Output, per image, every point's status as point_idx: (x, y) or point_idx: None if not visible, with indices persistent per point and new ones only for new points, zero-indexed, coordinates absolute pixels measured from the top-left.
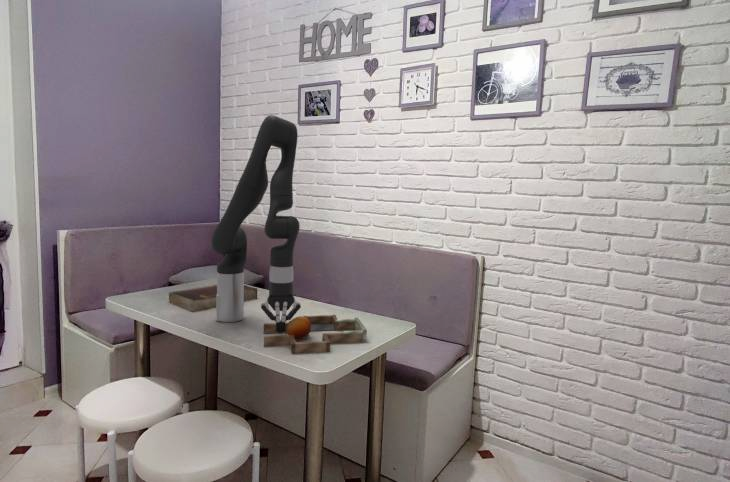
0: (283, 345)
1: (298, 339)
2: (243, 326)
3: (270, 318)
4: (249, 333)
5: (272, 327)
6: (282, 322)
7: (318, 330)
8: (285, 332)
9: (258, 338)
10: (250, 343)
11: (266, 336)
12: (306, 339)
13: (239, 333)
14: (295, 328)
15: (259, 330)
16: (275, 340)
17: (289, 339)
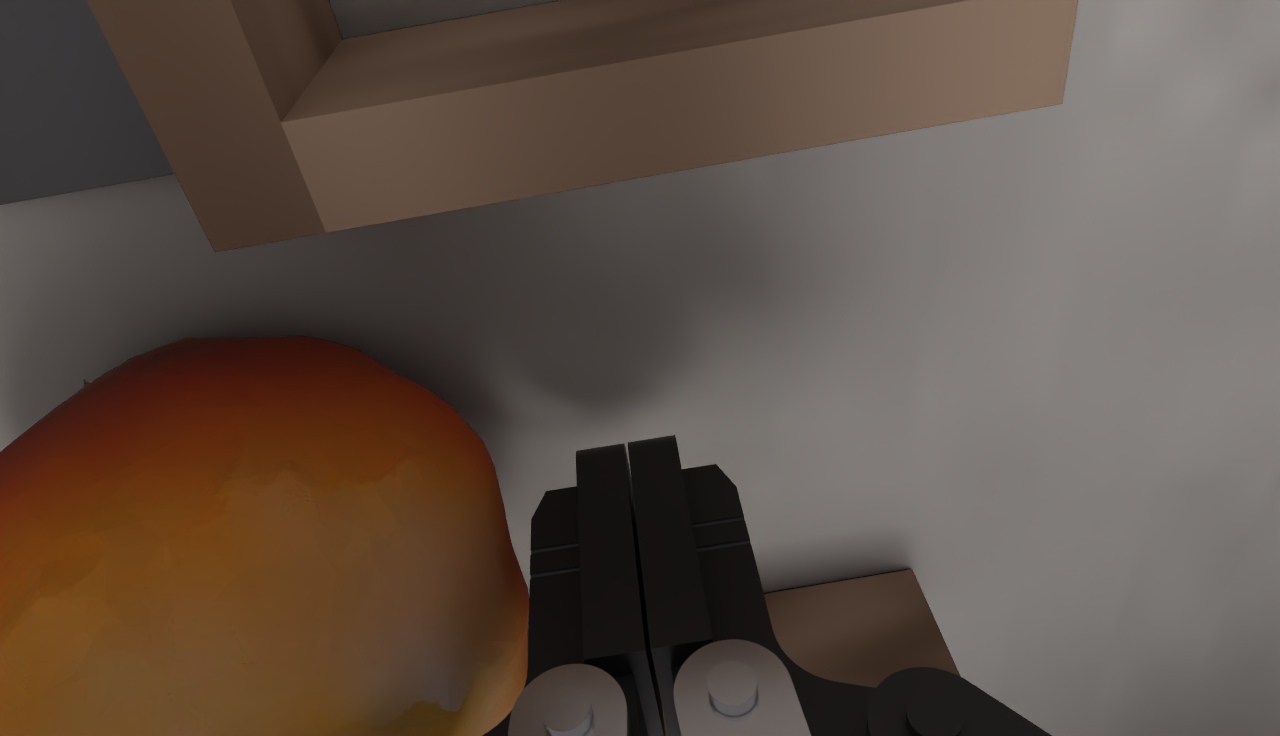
0: (492, 14)
1: (228, 338)
2: (1144, 724)
3: (1000, 719)
4: (1117, 551)
5: None
6: (598, 654)
7: None
8: None
9: (1011, 386)
10: (1205, 137)
11: (995, 54)
12: (84, 381)
13: (1260, 538)
14: (185, 473)
15: (959, 649)
16: (705, 11)
17: (319, 88)
